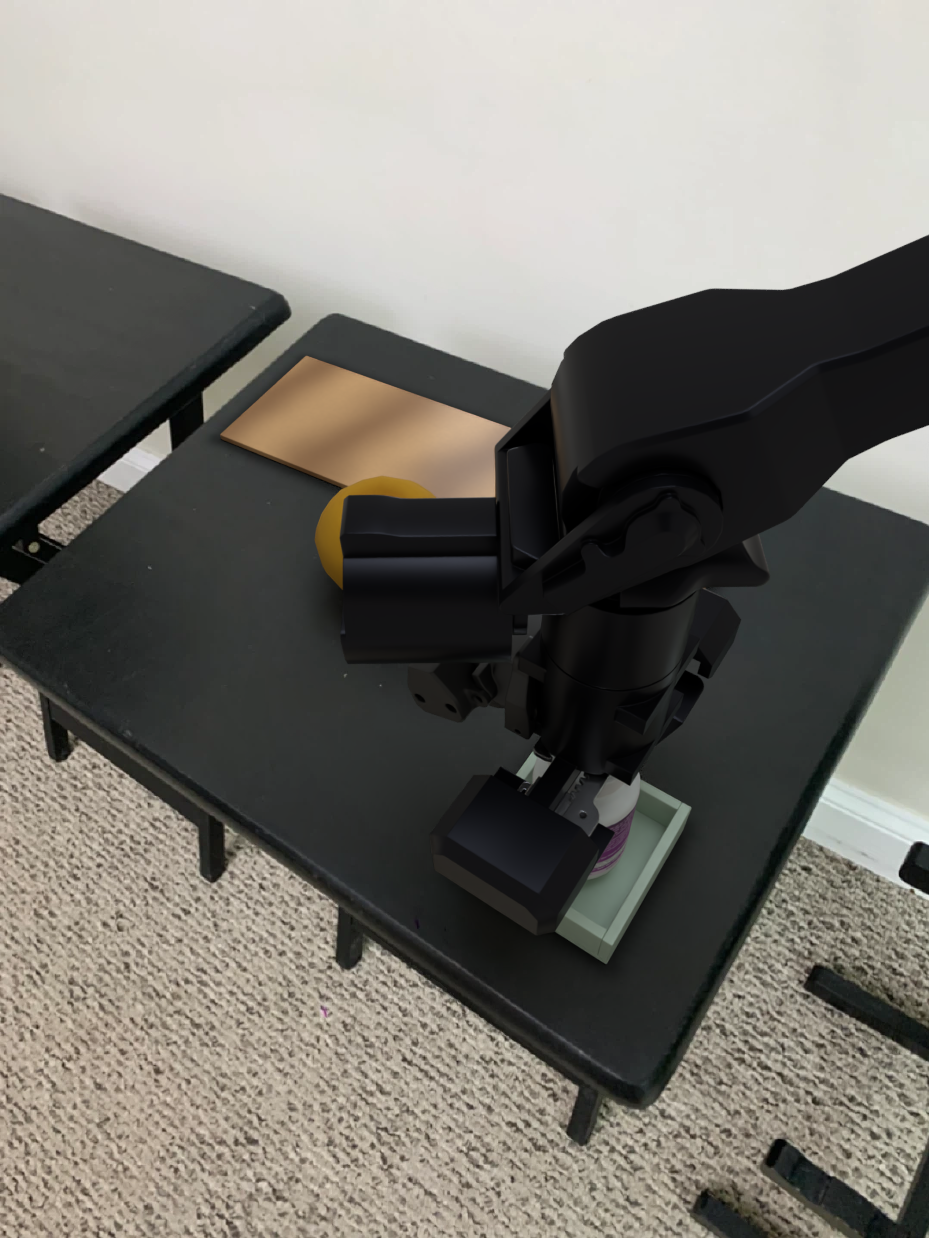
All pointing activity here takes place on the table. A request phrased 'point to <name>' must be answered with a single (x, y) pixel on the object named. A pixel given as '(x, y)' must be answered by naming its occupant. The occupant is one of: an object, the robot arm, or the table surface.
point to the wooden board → (368, 433)
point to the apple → (332, 517)
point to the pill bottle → (608, 814)
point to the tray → (622, 872)
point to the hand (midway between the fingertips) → (581, 811)
